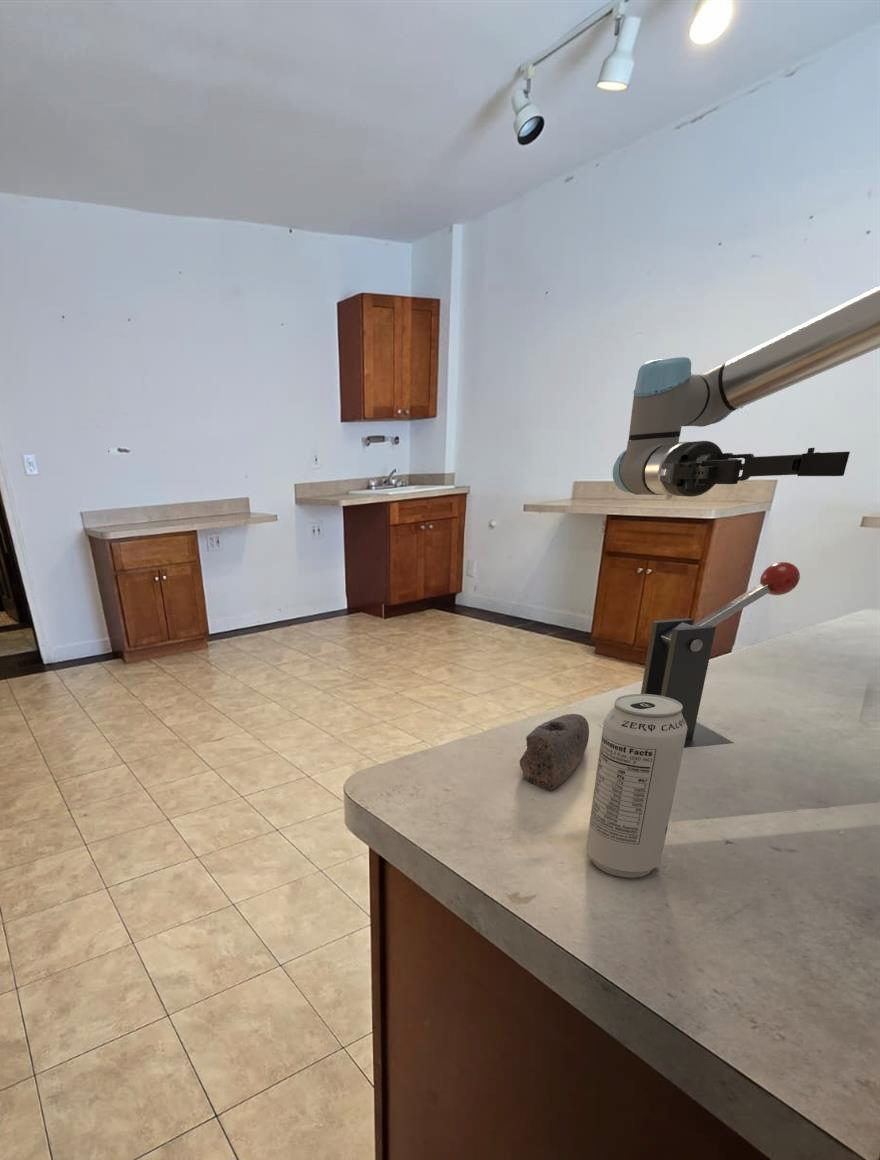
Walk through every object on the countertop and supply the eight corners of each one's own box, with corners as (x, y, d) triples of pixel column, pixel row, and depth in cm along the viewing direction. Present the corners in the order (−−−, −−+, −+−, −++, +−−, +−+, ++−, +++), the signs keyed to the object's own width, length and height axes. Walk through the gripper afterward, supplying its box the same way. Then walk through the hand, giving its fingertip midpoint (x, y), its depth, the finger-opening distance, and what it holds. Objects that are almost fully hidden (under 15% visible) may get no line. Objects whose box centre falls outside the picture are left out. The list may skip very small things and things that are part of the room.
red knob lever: (787, 580, 74) (778, 553, 72) (811, 585, 70) (803, 557, 69) (665, 654, 76) (655, 630, 75) (683, 662, 73) (673, 637, 72)
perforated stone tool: (558, 747, 80) (564, 695, 77) (602, 756, 77) (610, 702, 74) (506, 793, 70) (511, 735, 67) (554, 806, 67) (561, 745, 64)
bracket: (685, 725, 84) (708, 612, 77) (732, 752, 75) (762, 628, 69) (596, 733, 83) (612, 620, 77) (633, 761, 75) (654, 637, 69)
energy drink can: (675, 872, 55) (710, 709, 49) (616, 887, 54) (645, 721, 47) (625, 838, 60) (650, 687, 54) (570, 851, 59) (590, 698, 53)
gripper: (757, 490, 99) (878, 493, 80) (601, 502, 98) (685, 508, 79) (769, 436, 96) (898, 426, 77) (608, 447, 95) (697, 440, 76)
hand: (790, 467), depth 78 cm, fingers open, 13 cm apart
